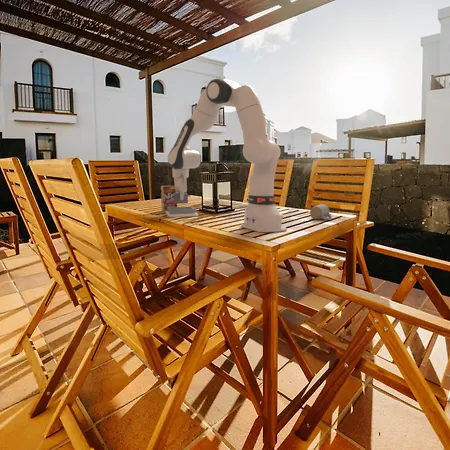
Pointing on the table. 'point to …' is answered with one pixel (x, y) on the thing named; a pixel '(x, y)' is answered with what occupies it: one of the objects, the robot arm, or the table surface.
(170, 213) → the plate
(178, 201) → the servo
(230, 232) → the table surface
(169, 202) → the candy box
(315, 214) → the ceramic mug
